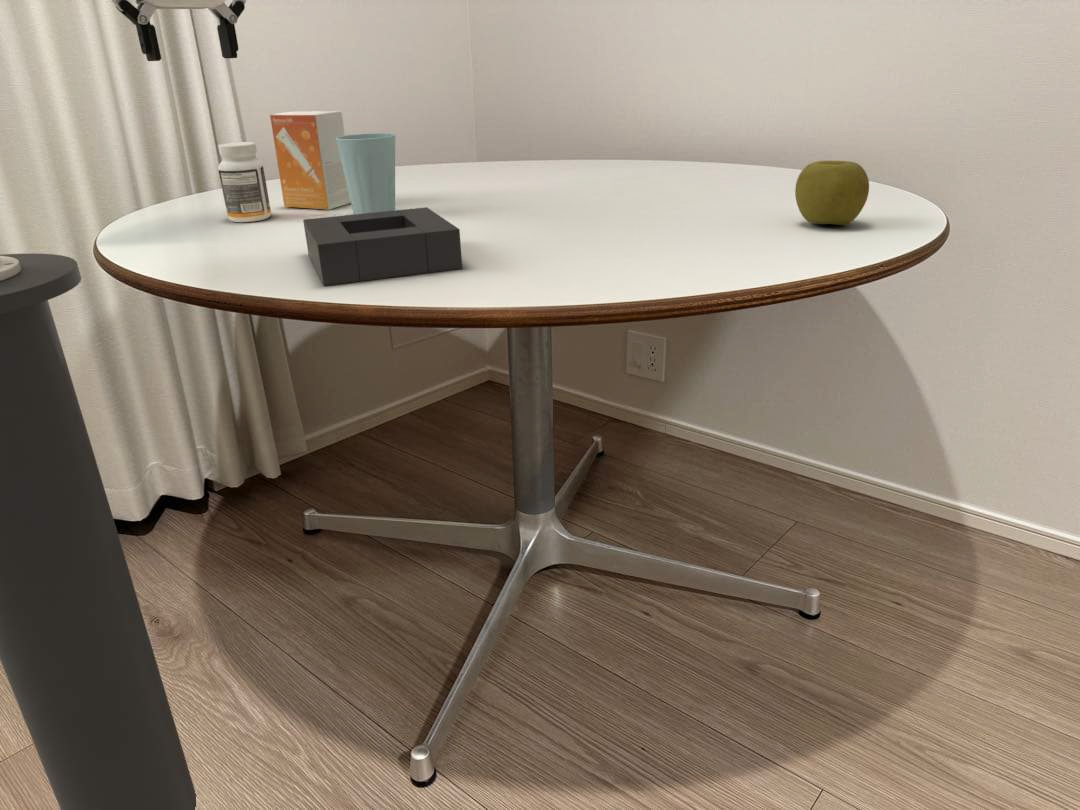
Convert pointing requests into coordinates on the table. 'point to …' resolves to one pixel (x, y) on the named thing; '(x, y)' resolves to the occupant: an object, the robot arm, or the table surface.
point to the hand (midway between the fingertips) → (193, 59)
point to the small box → (310, 158)
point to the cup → (369, 171)
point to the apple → (831, 192)
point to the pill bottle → (243, 182)
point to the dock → (381, 245)
